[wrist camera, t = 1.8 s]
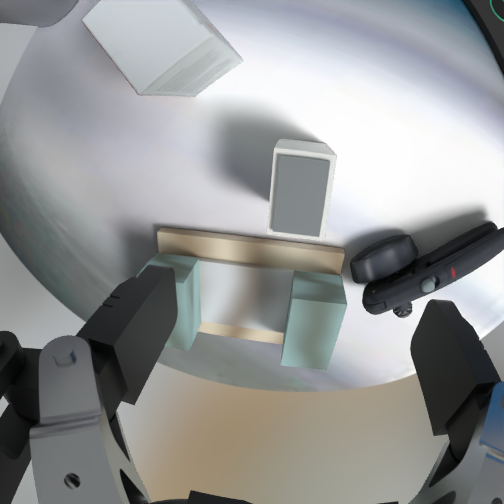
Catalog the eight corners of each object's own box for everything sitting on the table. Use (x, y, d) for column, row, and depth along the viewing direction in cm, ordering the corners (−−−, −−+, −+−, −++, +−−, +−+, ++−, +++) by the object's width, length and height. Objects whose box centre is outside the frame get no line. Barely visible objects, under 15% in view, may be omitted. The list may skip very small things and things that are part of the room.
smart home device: (467, -71, 8) (560, 88, 14) (461, -66, 10) (551, 87, 16) (417, -66, 11) (524, 109, 17) (412, -59, 13) (514, 108, 19)
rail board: (170, 319, 35) (150, 354, 30) (162, 227, 30) (133, 255, 24) (320, 341, 34) (322, 382, 28) (343, 248, 28) (352, 283, 23)
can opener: (359, 303, 31) (368, 338, 26) (343, 247, 28) (351, 278, 23) (496, 253, 26) (521, 279, 21) (494, 196, 23) (524, 215, 18)
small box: (147, 40, 22) (77, 19, 12) (194, 2, 20) (141, -41, 10) (194, 99, 24) (136, 98, 15) (246, 62, 22) (213, 34, 13)
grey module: (274, 204, 27) (266, 236, 21) (280, 138, 25) (273, 148, 18) (318, 209, 27) (324, 243, 20) (326, 143, 24) (337, 156, 18)
